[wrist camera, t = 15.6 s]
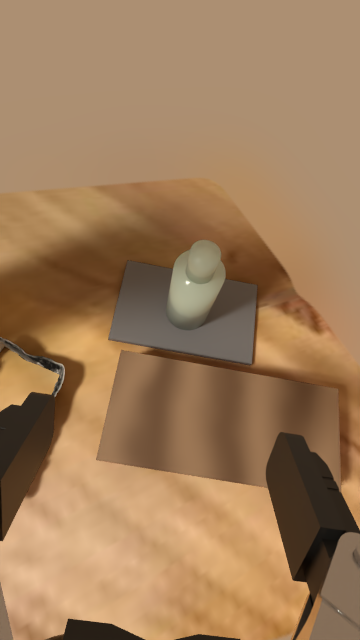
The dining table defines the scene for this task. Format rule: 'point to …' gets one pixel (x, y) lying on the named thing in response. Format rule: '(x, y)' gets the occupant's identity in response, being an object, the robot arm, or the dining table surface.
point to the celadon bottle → (195, 285)
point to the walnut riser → (212, 419)
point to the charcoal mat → (157, 331)
